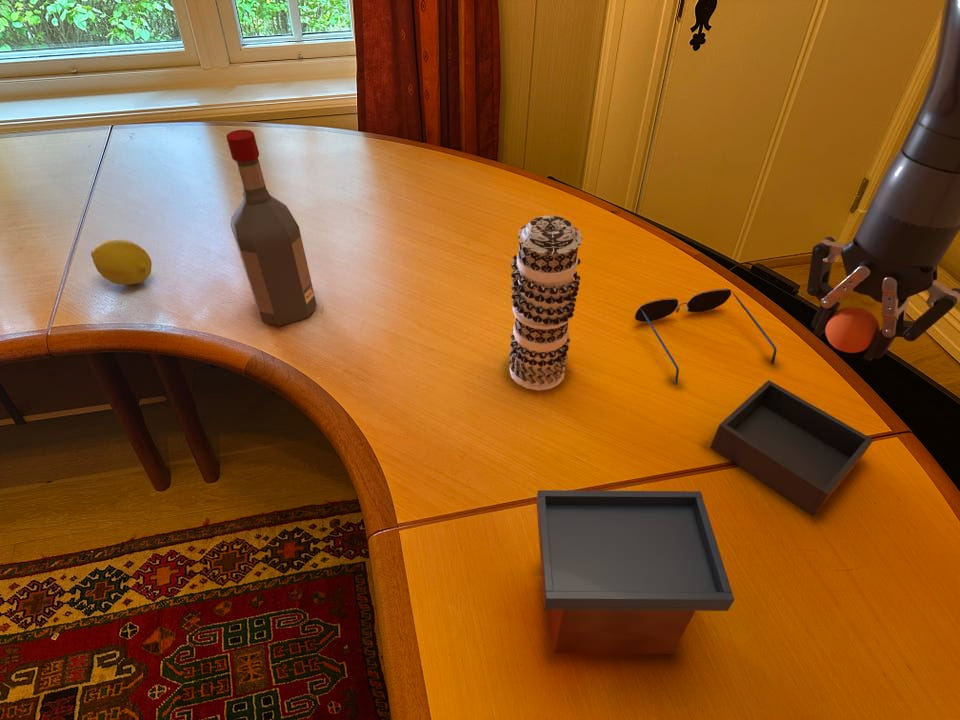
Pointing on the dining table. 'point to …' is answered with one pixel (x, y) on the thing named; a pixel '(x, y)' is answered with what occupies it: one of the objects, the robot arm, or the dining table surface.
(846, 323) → the ball
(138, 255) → the lemon
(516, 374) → the decorative candle
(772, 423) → the bin
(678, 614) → the stand
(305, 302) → the liquor
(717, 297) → the sunglasses
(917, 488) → the dining table surface
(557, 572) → the tray
